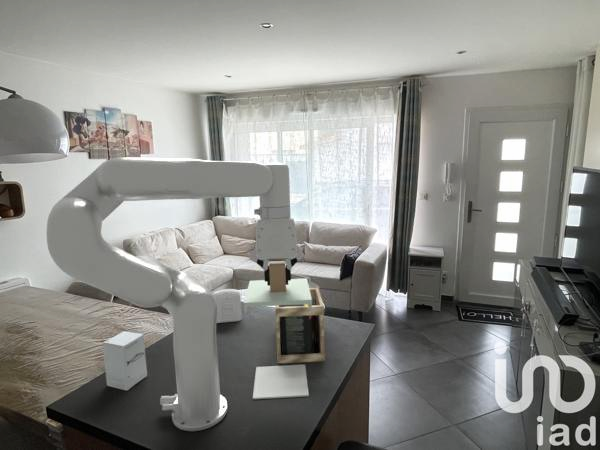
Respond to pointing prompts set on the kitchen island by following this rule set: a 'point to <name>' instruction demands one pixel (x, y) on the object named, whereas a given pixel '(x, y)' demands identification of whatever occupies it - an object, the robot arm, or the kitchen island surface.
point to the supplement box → (124, 360)
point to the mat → (280, 382)
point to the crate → (302, 311)
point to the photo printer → (228, 305)
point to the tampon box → (298, 333)
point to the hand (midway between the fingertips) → (278, 282)
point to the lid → (277, 289)
